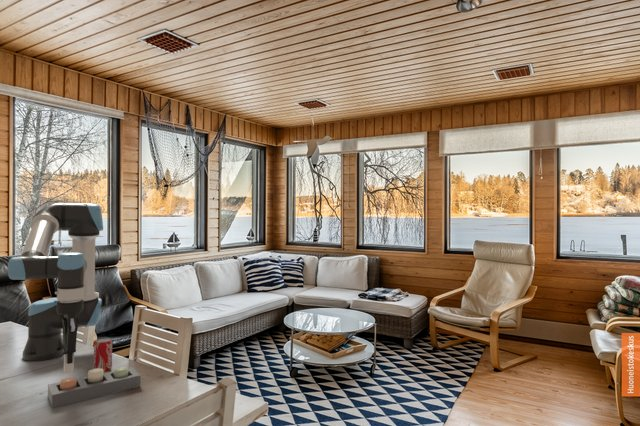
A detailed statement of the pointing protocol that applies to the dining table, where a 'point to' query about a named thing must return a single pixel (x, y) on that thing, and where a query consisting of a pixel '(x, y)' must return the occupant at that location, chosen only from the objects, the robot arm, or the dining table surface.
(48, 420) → the dining table surface
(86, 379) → the grey slotted tray
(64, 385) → the button rust
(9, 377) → the dining table surface
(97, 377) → the button cream
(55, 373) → the dining table surface
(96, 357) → the beverage can
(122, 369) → the button sage
